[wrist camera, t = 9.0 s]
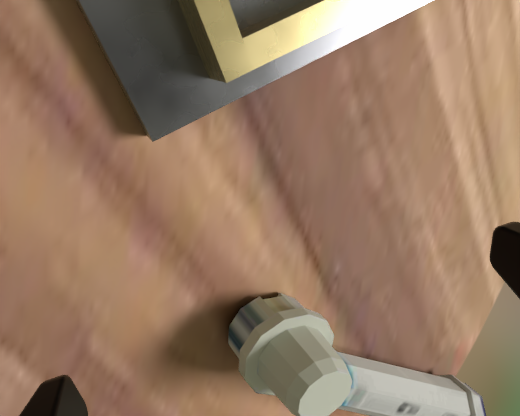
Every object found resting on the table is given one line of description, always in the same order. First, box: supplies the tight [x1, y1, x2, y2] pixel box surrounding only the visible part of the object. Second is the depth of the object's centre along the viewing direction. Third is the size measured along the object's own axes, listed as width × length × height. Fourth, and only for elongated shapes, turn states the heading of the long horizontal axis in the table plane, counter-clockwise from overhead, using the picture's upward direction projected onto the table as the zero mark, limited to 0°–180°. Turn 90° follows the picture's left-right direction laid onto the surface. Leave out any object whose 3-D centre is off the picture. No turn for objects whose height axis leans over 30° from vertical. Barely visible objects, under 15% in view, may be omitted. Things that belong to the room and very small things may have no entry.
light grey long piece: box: [228, 293, 486, 416], centre depth 29 cm, size 5×7×25 cm
